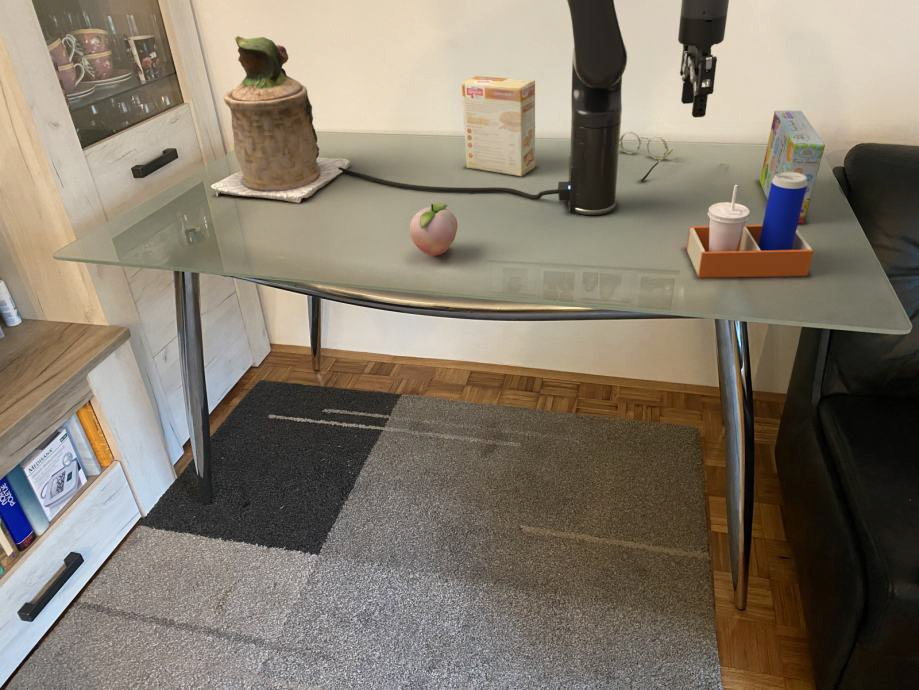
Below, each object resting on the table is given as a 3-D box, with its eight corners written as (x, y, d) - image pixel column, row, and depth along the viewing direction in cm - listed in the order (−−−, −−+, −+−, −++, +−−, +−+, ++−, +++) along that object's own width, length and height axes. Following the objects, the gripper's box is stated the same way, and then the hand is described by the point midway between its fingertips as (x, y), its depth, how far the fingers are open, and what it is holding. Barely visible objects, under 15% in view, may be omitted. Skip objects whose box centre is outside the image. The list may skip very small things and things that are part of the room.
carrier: (698, 277, 113) (702, 253, 111) (686, 249, 122) (689, 226, 119) (807, 276, 112) (813, 251, 109) (787, 247, 120) (792, 223, 117)
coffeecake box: (536, 167, 160) (536, 79, 149) (521, 177, 155) (520, 88, 144) (480, 158, 167) (477, 74, 156) (465, 168, 162) (460, 82, 151)
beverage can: (789, 257, 117) (809, 172, 109) (787, 270, 113) (808, 184, 105) (756, 252, 119) (774, 169, 111) (753, 266, 115) (771, 180, 107)
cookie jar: (304, 205, 149) (272, 47, 131) (209, 197, 156) (167, 47, 138) (353, 165, 168) (332, 23, 150) (267, 159, 175) (236, 23, 157)
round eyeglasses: (677, 162, 157) (679, 140, 154) (644, 183, 148) (646, 160, 145) (612, 149, 167) (613, 128, 164) (577, 168, 157) (578, 146, 155)
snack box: (807, 224, 127) (827, 144, 118) (774, 223, 128) (792, 143, 119) (786, 181, 144) (802, 108, 135) (757, 181, 145) (771, 108, 136)
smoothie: (719, 275, 113) (734, 195, 105) (692, 260, 118) (703, 182, 110) (748, 265, 116) (764, 185, 108) (720, 250, 120) (733, 174, 113)
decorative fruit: (422, 242, 130) (417, 192, 125) (463, 245, 128) (460, 194, 123) (405, 265, 123) (399, 213, 117) (448, 269, 121) (444, 216, 115)
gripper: (672, 7, 122) (663, 100, 131) (690, 21, 110) (680, 122, 119) (715, 3, 121) (704, 97, 130) (738, 18, 110) (724, 120, 119)
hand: (692, 109), depth 125 cm, fingers open, 8 cm apart
